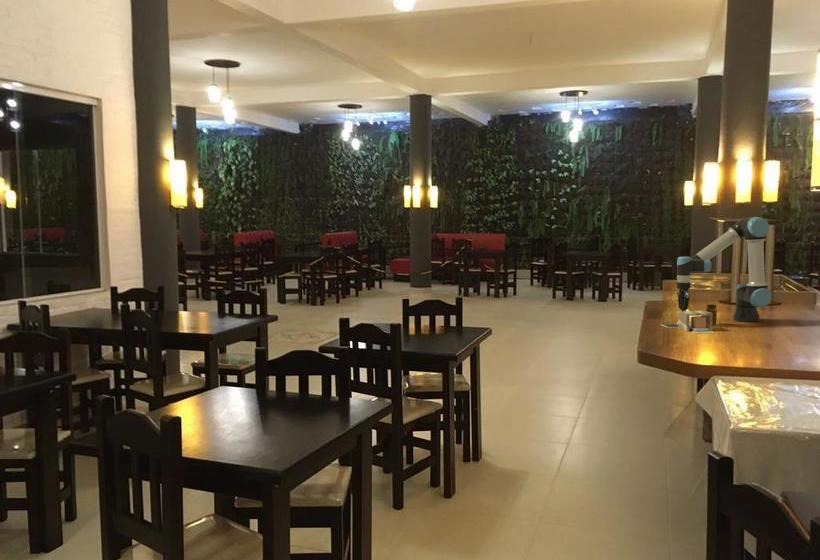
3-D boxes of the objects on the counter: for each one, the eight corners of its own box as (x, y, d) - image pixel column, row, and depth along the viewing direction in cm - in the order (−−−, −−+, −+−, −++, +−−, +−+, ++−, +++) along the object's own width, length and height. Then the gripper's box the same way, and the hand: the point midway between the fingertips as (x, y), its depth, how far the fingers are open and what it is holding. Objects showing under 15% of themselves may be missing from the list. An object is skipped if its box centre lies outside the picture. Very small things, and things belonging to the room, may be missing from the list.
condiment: (719, 324, 421) (719, 304, 420) (711, 325, 417) (711, 306, 415) (708, 322, 427) (709, 303, 426) (700, 324, 423) (700, 304, 422)
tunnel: (703, 327, 411) (703, 310, 410) (712, 330, 400) (712, 313, 399) (678, 328, 410) (678, 311, 409) (686, 331, 399) (686, 313, 398)
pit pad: (688, 324, 423) (688, 323, 423) (696, 326, 413) (696, 326, 413) (661, 325, 423) (661, 324, 423) (667, 327, 413) (668, 327, 413)
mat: (709, 331, 398) (709, 330, 398) (715, 333, 391) (715, 332, 391) (691, 331, 398) (691, 331, 398) (696, 333, 391) (696, 333, 391)
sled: (689, 323, 421) (689, 312, 420) (708, 330, 396) (709, 318, 396) (676, 324, 420) (676, 312, 420) (695, 331, 396) (695, 318, 395)
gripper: (673, 281, 425) (672, 319, 427) (682, 283, 412) (681, 322, 414) (685, 280, 425) (684, 318, 427) (694, 283, 412) (693, 322, 414)
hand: (683, 320), depth 420 cm, fingers closed
